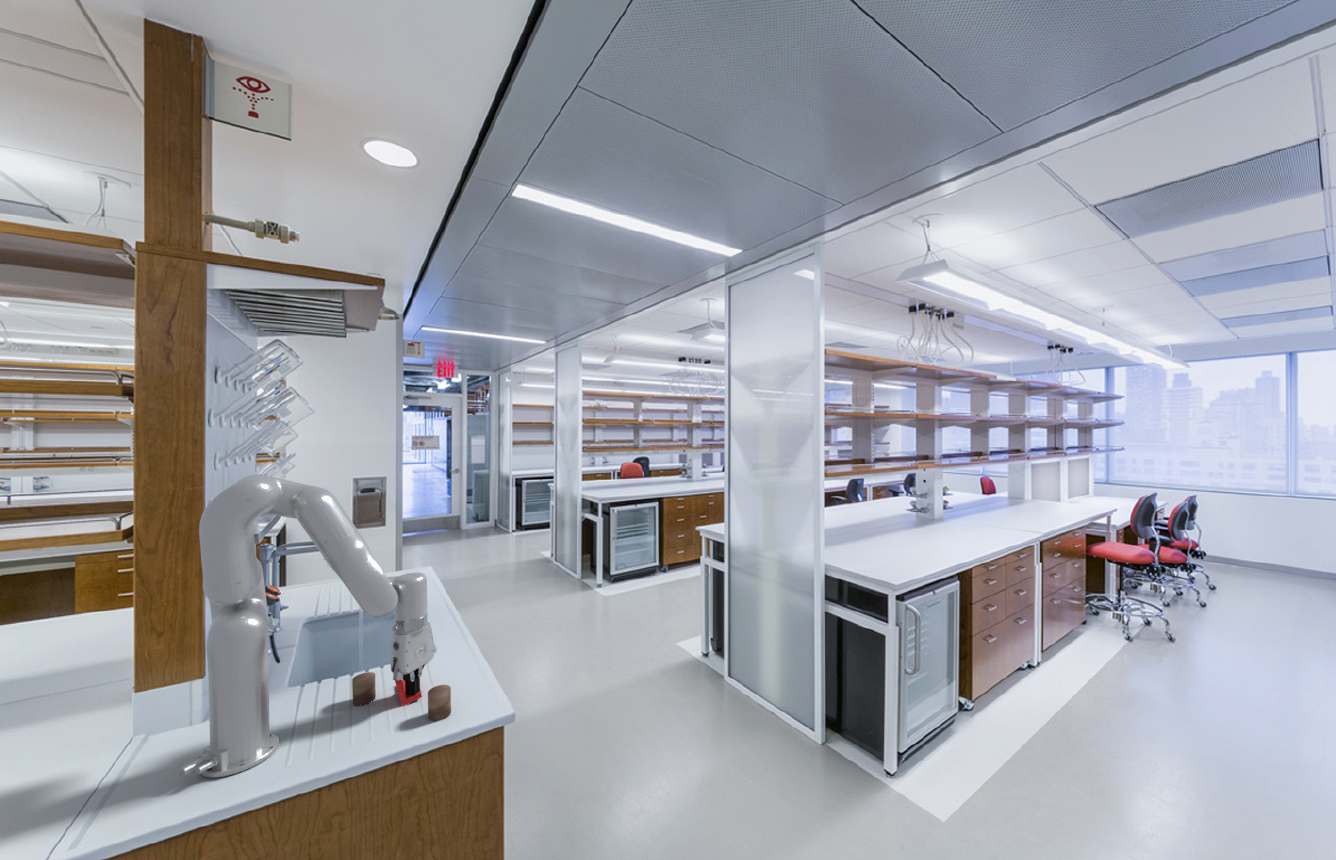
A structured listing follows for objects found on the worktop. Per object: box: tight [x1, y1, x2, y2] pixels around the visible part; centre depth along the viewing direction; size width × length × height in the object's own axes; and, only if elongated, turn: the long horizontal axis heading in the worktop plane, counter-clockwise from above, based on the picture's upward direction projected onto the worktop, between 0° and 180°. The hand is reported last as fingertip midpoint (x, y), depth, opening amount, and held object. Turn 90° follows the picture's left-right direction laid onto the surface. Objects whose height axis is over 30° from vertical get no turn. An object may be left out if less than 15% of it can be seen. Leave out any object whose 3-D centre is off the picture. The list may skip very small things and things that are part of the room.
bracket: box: [392, 672, 423, 707], centre depth 126 cm, size 12×4×8 cm, turn 33°
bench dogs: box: [351, 671, 452, 722], centre depth 119 cm, size 5×29×6 cm, turn 73°
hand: (412, 693), depth 123 cm, fingers closed
